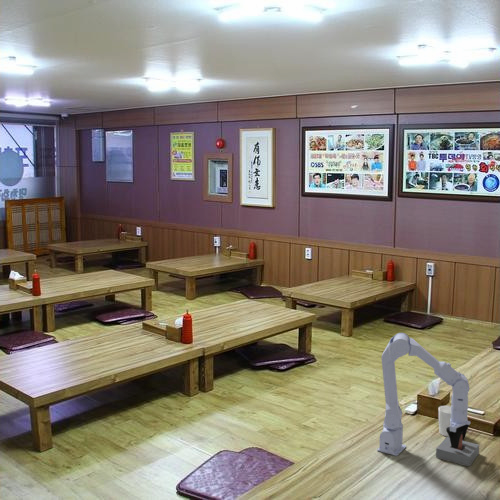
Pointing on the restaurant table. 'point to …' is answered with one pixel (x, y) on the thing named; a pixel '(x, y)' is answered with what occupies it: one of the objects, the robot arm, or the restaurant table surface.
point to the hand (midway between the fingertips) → (457, 443)
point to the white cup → (444, 419)
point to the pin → (460, 443)
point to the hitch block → (457, 452)
